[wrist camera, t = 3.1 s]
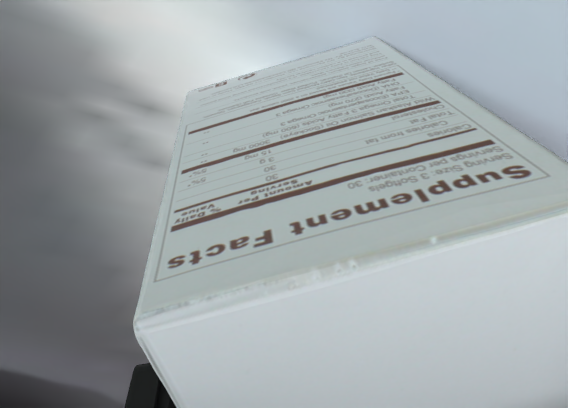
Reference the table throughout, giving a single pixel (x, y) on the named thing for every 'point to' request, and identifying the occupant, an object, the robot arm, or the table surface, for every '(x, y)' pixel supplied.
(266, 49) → the table surface
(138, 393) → the robot arm
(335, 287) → the supplement box
